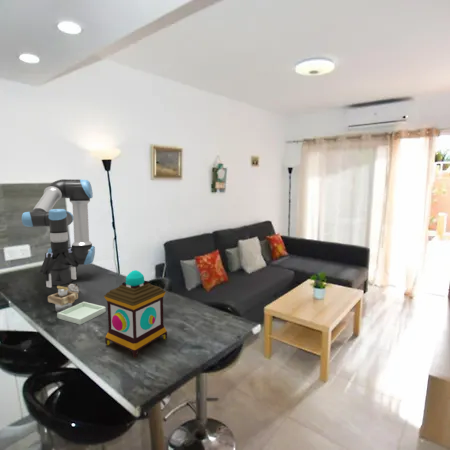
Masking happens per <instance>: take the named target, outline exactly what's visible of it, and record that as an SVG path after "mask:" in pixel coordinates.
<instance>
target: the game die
mask: <svg viewBox="0 0 450 450" xmlns="http://www.w3.org/2000/svg"><path fill="white" fill-rule="evenodd" d="M68 284H69V285H67V284H65V285H66V286H65V287H67V288H68V290H67V291H72V292H76V293H78V294H79V293H82V291H80V289H79V288H80V285H78V283H75V284H74V283H72V282H70V283H68Z"/></svg>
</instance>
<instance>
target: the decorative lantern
mask: <svg viewBox="0 0 450 450" xmlns="http://www.w3.org/2000/svg"><path fill="white" fill-rule="evenodd" d="M165 295H166V290H164V289H163V288H162V287H160V286H157V285H153V284H152V283H149V281H148V280H146V279H145V276H144V274H143V273H142V272H141V271H139V270H135V269H134V270H132V271H130V272H129V273H128V274H127V275H126V277H125V281H124V282H122V284H119V286H117V287H116V288H112V289H110V290H109V291H108V292H106V294H104V296H103V297H104V299H105V300H106V302H107V321H108V322H107V323H108V331H107V333H106V335H105V338H104V341H105V345H106V346H110V344H111V343H114V344H116V345H118V346H120V347H122V348H124V349H126V350H129V351H130V352H131V353H132V357H133V358H134V359H137V357H138V352H139V351H140V350H141V349H143V348H144V347H146V346H148V345H149V344H151V343H152V342H155V341H157V339H159V338H161V337H162V338H163V340H166V339H168V330H167V329H166V327H165V325H164V297H165Z"/></svg>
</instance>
